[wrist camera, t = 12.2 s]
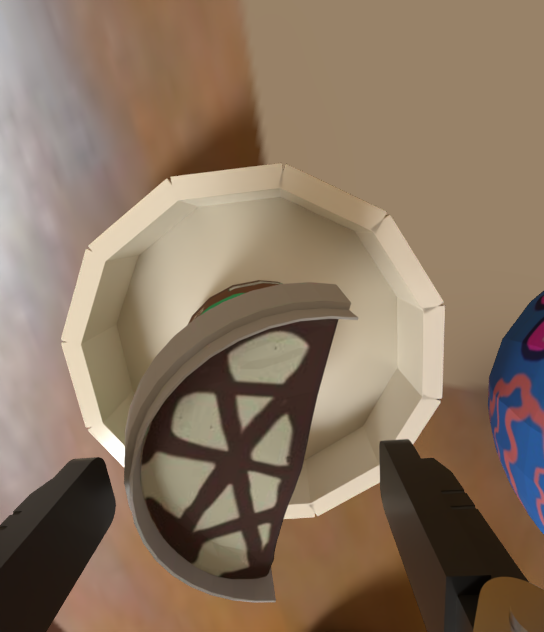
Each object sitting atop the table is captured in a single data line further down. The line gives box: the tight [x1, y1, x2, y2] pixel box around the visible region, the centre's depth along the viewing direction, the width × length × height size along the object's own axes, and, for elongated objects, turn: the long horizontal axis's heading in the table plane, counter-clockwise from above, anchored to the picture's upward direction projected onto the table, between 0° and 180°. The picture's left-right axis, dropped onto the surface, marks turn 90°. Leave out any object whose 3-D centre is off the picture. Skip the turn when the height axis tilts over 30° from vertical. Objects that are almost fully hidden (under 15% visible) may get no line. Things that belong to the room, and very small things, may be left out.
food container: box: [124, 280, 358, 602], centre depth 14 cm, size 12×6×10 cm, turn 168°
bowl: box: [61, 163, 445, 519], centre depth 18 cm, size 19×19×4 cm
